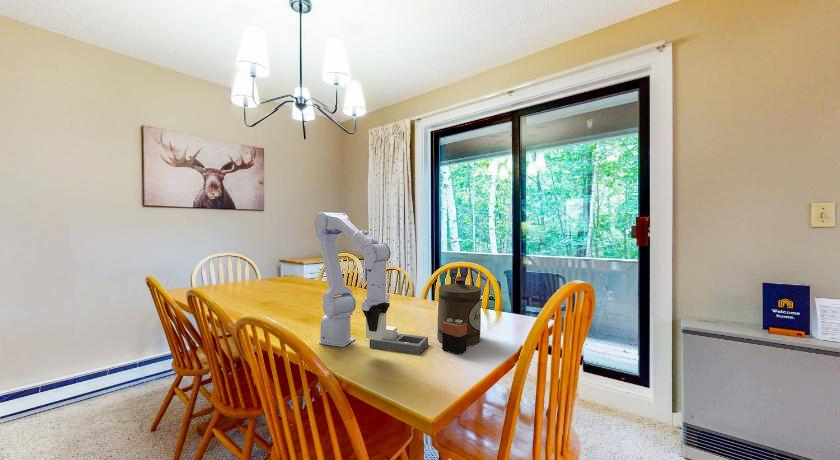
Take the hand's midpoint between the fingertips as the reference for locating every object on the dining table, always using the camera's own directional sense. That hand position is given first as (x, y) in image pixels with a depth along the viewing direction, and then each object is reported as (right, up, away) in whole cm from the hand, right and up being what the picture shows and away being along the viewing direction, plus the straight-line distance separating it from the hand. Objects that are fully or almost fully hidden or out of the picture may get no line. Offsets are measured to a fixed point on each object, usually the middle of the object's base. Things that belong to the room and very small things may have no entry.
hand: (376, 329), depth 101 cm
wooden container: (+27, -9, +16) cm, 32 cm away
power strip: (+6, -8, +10) cm, 14 cm away
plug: (0, -3, 0) cm, 2 cm away
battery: (+24, -9, +6) cm, 26 cm away
